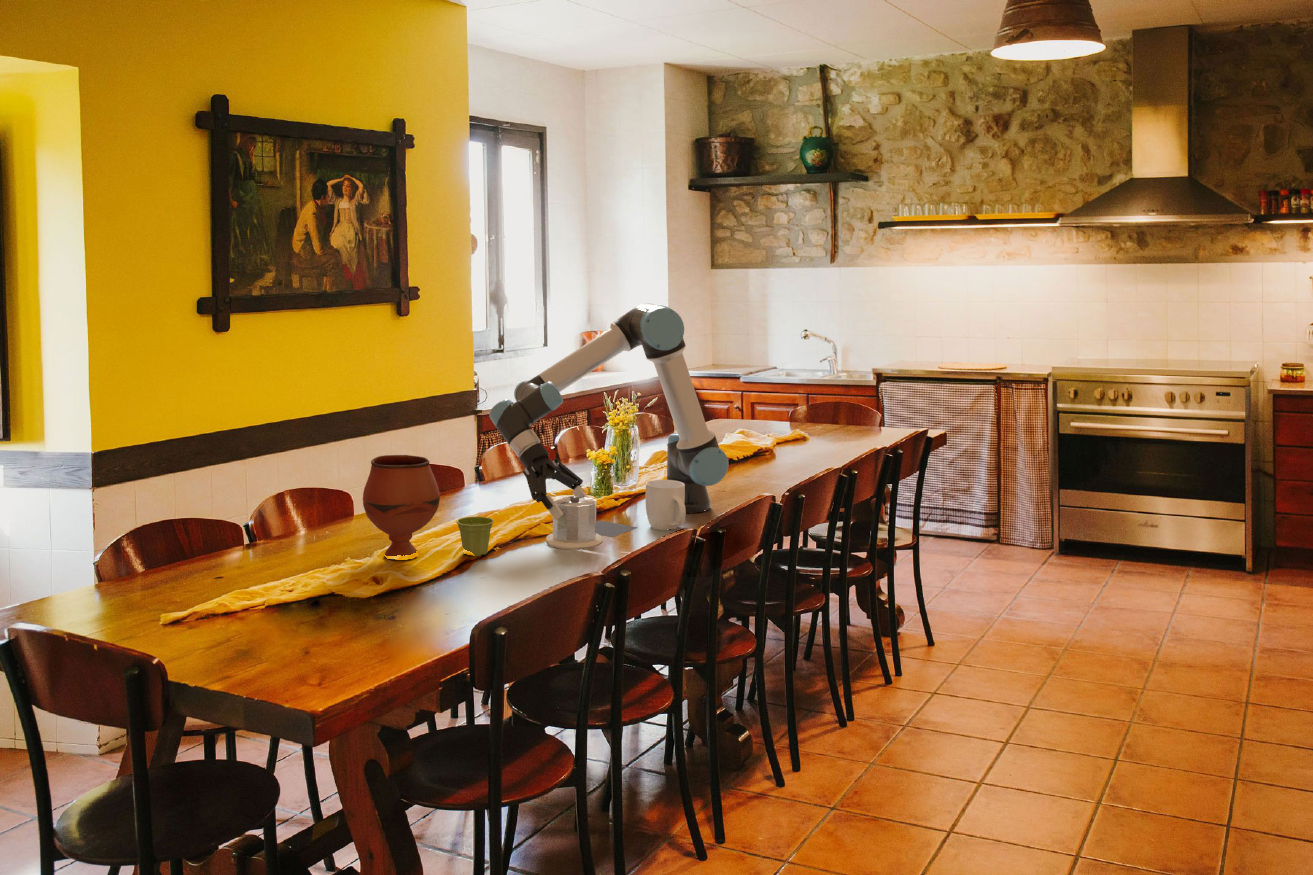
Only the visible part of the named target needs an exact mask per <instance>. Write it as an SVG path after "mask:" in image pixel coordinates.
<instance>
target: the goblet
mask: <svg viewBox="0 0 1313 875" xmlns="http://www.w3.org/2000/svg"><path fill="white" fill-rule="evenodd" d="M370 464H371V465H370V472H369V475H368V476H367V480H366V483H365V486H364V489H363V493H362V504H363V505H362V506H363V509H364V512H365V515H366V518H368V520H369V521H370V522H372V524H373V525H374V526H375V527H376V528H377V529H379V530H380V531H381V532H383V533H384V534H386V535H388V540H389V541H391V544H390V545H389V546H388V548H387V549H386V550H385V552H384V554H385V555H386V556H397V555H401V556H403V555H404V556H405V555H411V554H413V553H416V551H418V549H417V548H416V547H415V546H414V545H413V544H412V542H411V541H410V540H411V539H412V538H413V533H415V532H418V531H420V530H421V529H422V528H424V527H425V526H426V525H427V524H428V523H429V522H431V520H432V519H433V518H434V517H435V515H436V513H437V512H438V509H439V506H440V500H441V493H440V489H439V486H438V483H437V480H436V477H435V475H434V473H433V470H432V468H431V466H430V464H431V463H430V460H429V459H428V458H426V457H424V456H417V455H408V454H387V455H379V456H376V457H374V458H372V459H371V461H370Z"/></svg>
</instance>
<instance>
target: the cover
mask: <svg viewBox="0 0 1313 875" xmlns="http://www.w3.org/2000/svg"><path fill="white" fill-rule="evenodd" d="M587 497H588V496H587ZM587 497H579V496H575V495H571V496H562V497H561V496H560V497H558V498H555V499H553V500H554V501H555V503H556V504H557V506H558V507H559V508H560V510H561V511H562V513H563V515H562V516H561V517H560V518H559V519H558V520H557V521H556V520H555V519H554V517H553V516H552V533H553V539H554V540H556V541H559V542H564V543H586V542H590V541H593V540H595V538H596V522H597V500H596V499H594V498H592V497H588V498H587Z"/></svg>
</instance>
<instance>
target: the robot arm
mask: <svg viewBox="0 0 1313 875" xmlns="http://www.w3.org/2000/svg"><path fill="white" fill-rule="evenodd" d="M684 335H685V324H684V321H683V319H682V317H681V315H680V314H678V312H676V311H675V310H674V309H672V308H670V306H669V307H668V306H665V305H656V304H654V303H643V304H640V305H638V306H634V308H632V309H630V310H629V311H627V312H626V313H625V314H623V315H621V316H620V317H618V318H617V319H616V320H614V321H613V322H612V323H610V327H609V329H607V330H605V331H603V332H602V333H600V334H599V335H598V336H596V337H595V338H592V339H591V340H590V341H588V342H587V343H585V344H583V345H582V346H580V347H579V348H577V349H576V350H575V351H572V352H571V353H570V354H568V355H567V356H565V357H564V358H562V359H560V360H559V361H558V362H556V363H554V364H553V365H551V366H549V367H548V368H546V369H545V370H543V371H542V372H541V373H539V374H537V375H536V376H534V377H533V378H531V379H529V380H523V381H520V382H519V383H517V385H516V386H515V388H514V392H513V396H514V399H515V402H513V401H512V400H511V399H509V398H508V399H507V398H506V399H503V400H502V401H498V402H497V403H496V404H495V405H494V406H492V408H491V409H490V410H489V414H488V415H489V419H490V420H491V422H492V423H493V424H494V427H495V428H496V429H497V431H498V432H499V434H500V435H501V436H502V437H503V439H504V440H505V441H506V443H507V444H508V445H509V447H510V448H511V449H512V451H513V452H514V453H515V455H516V456H517V458H519V461H520V463H521V464H522V465H523V466H524V469H523V471H522V473H523V475H524V476H525V478H526V481H527V482H526V483H527V485H528V488H529V491H530V495H531V499H532V500H533V501H536V502H537V503H542V505H544V507H545V509H547V511H548V512H549V513H550V514H551V516H552V518H553V517H554V519H555V520H556V521H557V520H558V519H559V518H560V517H561V516H562V515H563V513H562V511H561V510H560V508H559V507H558V506H557V504H556V503H555V501H554V499H553V497H552V495H550V494H547V481H546V480H555V481H557V482H559V483H561V484H563V485H564V486H566V487H568V488H569V489H571V490H572V495H573V496H579V497H587V498H589V496H588V495H587V493H586V492H585V490H584V489H583V488H582V486H581V485H582V484H583V482H584V480H583V479H582V478H581V477H580V476H579V475H577V474H575V472H573V471H572V470H571V469H570V468H568V467H567V466H566V465H565V464H564V463H563V462H562V461H561V460H560V459H559V458H558V457H555V459H553V460H551V459H550V458H549V454H550V453H549V451H548V450H547V448H546V446H544V444H543V443H542V442H541V439H540V438H539V436H538V435H537V434H536V433H535V431H534V430H533V429H532V427H531V426H532V425H533V424H535V423H537V422H538V421H539V420H541V419H542V418H543V417H546V416H547V415H549V414H550V413H551V412H553V411H555V410H556V409H558V407H560V406H561V405H563V402H564V398H563V396H562V395H561V392H562V391H564V390H565V389H567V388H569V387H570V386H572V385H573V384H574V383H576V382H578V381H580V379H582V378H584V377H586V375H589V374H590V373H591V372H593V371H594V370H596V369H598V368H599V367H601V366H603V365H604V364H606V363H607V362H609V361H610V360H612V359H613V358H615V357H616V356H618V355H620V353H623V352H624V351H625V352H630V351H632V350H634V349H635V348H637V347H640V346H641V347H642V349H643V352H644V355H645V359H646V360H648V361H650V362H651V363H653V364H654V368H655V371H656V374H657V376H658V379H659V380H658V381H659V382H660V385H661V386H660V387H661V389H662V391H663V394H664V397H665V400H666V403H667V406H668V410H669V413H670V415H671V418H672V420H673V425H674V426H675V430H676V431H677V432H676V433H671V434H669V435H668V437H667V443H666V446H667V448H666V449H667V453H666V456H667V458H666V460H667V461H666V480H674V481H679V482H682V483H684V484H685V502H684V505H685V509H686V514H697V512H699V513H702V512H701V511H704V510H708V509H709V508H710V509H711V499H710V496H709V492H708V490H707V487H711V486H714V485H716V484H718V483H720V482H721V481H723V479H724V478H725V476H726V474H727V472H728V470H729V458H728V456H727V454H726V453H725V452H724V450H723V449H721V448H720V446H719V442H718V439H717V437H716V434H715V431H714V432H713V431H712V430H709V429H708V426H707V424H706V420H705V418H704V415H703V412H702V407H701V404H700V401H699V398H698V396H697V393H696V390H695V386H694V383H693V381H692V378H691V375H690V372H689V368H688V366H687V363H686V360H685V357H684V350H685V349H686V346H687V345H686V343H685V339H684ZM710 509H709V510H710ZM709 510H708V511H709Z"/></svg>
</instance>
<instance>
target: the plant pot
mask: <svg viewBox="0 0 1313 875" xmlns="http://www.w3.org/2000/svg"><path fill="white" fill-rule="evenodd" d="M494 521H495V520H494V519H493V518H491V517H486V516H466V517H460V518H458V519H457V520H456V524H457V526H458V527H457V528H458V529H459V534H460V540H461V547H463V548H464V549H465V550H467V551H470V552H472V553H473V554H474V555H475V556H474V557H480V556H482V555H484V556H485V555H486V554H488V549H489V542H490V535H491V530H492V526H493V524H494ZM463 548H462V549H463Z"/></svg>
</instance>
